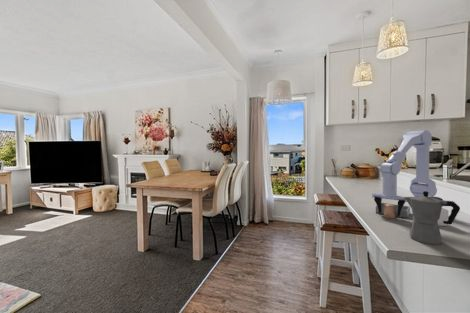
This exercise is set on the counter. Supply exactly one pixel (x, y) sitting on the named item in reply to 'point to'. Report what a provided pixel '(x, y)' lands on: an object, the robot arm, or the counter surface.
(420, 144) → the robot arm
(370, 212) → the counter surface
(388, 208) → the peach rounded cylinder
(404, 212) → the bin
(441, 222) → the pale grey tall block
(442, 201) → the coffeepot
